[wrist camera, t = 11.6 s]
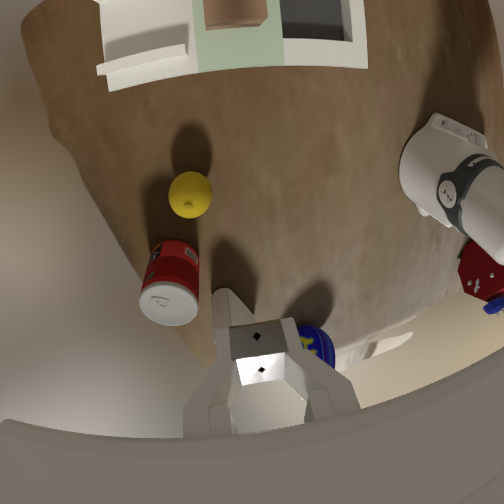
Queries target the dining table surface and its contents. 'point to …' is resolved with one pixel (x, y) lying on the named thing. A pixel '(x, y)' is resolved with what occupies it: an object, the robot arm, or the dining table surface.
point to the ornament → (317, 343)
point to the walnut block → (234, 13)
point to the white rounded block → (228, 310)
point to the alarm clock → (482, 277)
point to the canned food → (171, 284)
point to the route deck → (225, 39)
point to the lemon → (190, 194)
